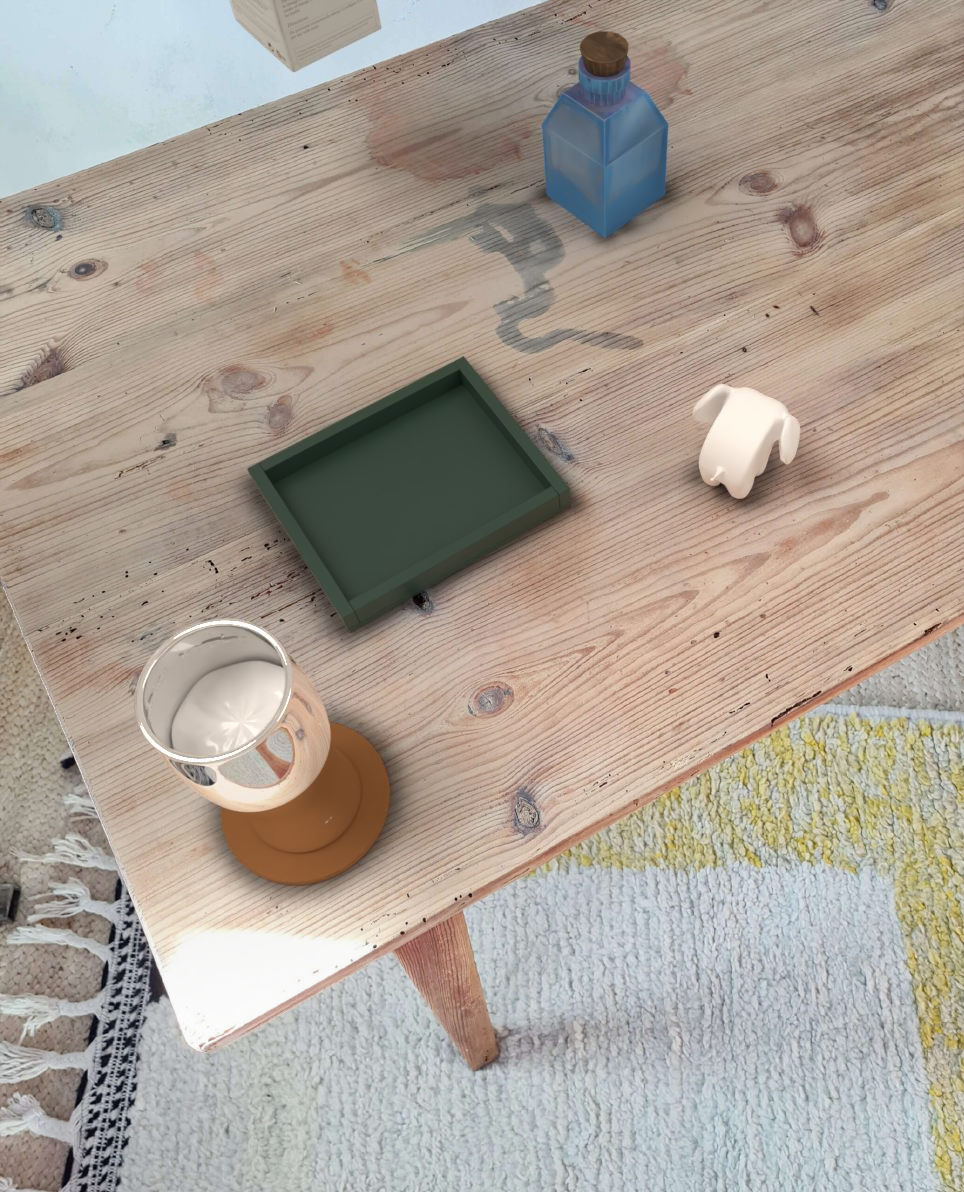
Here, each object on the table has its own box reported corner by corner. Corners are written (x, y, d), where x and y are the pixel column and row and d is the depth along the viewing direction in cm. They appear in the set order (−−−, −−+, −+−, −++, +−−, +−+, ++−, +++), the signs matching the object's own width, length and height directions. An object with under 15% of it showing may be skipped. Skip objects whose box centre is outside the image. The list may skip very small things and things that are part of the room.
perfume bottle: (664, 195, 80) (672, 46, 69) (605, 238, 78) (603, 91, 67) (606, 154, 82) (604, 4, 71) (546, 195, 80) (536, 47, 69)
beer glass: (294, 714, 60) (204, 586, 47) (395, 775, 58) (331, 660, 45) (212, 819, 57) (92, 715, 44) (316, 887, 56) (223, 799, 42)
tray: (349, 633, 63) (342, 618, 61) (256, 486, 68) (246, 468, 66) (571, 506, 67) (570, 488, 65) (467, 375, 72) (463, 355, 70)
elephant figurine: (814, 448, 69) (830, 388, 64) (754, 539, 66) (766, 484, 60) (721, 403, 71) (730, 342, 65) (659, 490, 67) (663, 433, 62)
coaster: (268, 919, 55) (265, 917, 55) (196, 781, 59) (192, 777, 58) (420, 823, 58) (418, 819, 57) (342, 695, 61) (339, 691, 61)
